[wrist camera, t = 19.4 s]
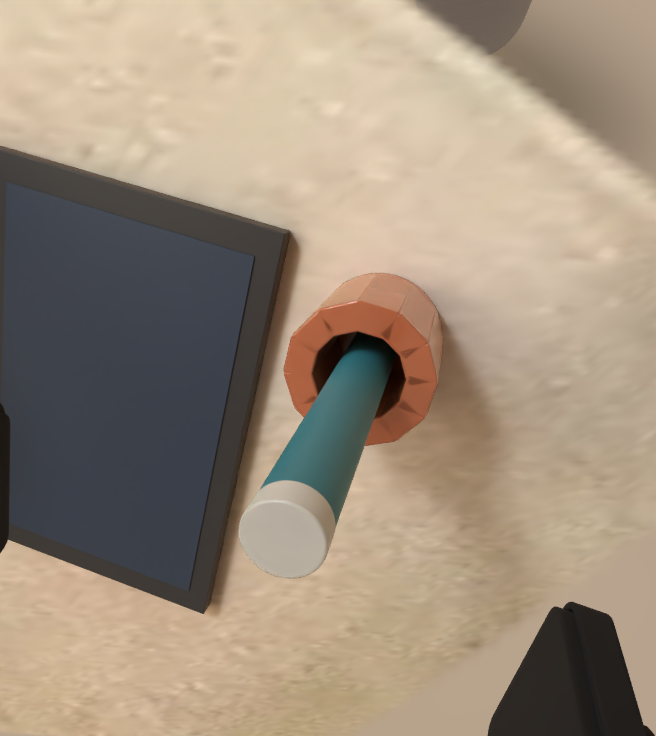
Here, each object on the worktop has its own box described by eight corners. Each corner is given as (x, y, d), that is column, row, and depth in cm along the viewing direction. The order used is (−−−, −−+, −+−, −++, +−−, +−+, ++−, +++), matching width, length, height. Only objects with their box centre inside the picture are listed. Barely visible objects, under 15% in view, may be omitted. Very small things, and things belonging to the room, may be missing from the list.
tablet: (1, 145, 25) (-15, 145, 24) (291, 230, 23) (284, 233, 22) (-8, 521, 32) (-20, 530, 32) (209, 603, 31) (203, 615, 30)
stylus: (360, 315, 23) (246, 487, 11) (405, 328, 23) (337, 519, 11) (349, 357, 24) (230, 561, 12) (392, 370, 24) (315, 592, 12)
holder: (336, 257, 23) (303, 283, 18) (459, 293, 22) (456, 329, 18) (307, 370, 25) (271, 418, 20) (420, 406, 24) (409, 465, 20)
